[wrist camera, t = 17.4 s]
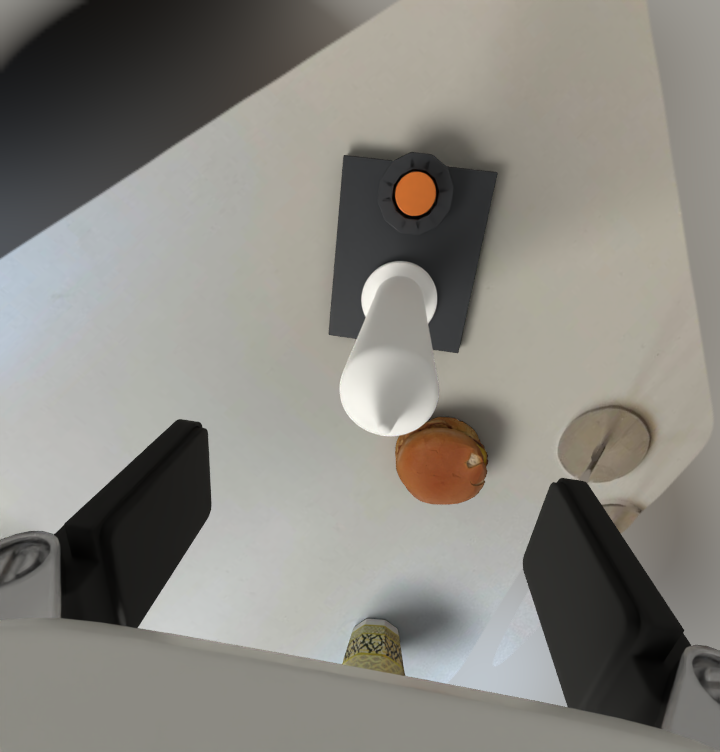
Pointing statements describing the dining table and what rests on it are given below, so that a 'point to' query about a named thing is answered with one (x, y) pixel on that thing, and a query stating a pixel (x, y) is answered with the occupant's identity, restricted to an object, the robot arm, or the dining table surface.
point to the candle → (393, 353)
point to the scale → (409, 238)
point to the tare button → (415, 193)
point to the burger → (442, 461)
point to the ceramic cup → (375, 647)
